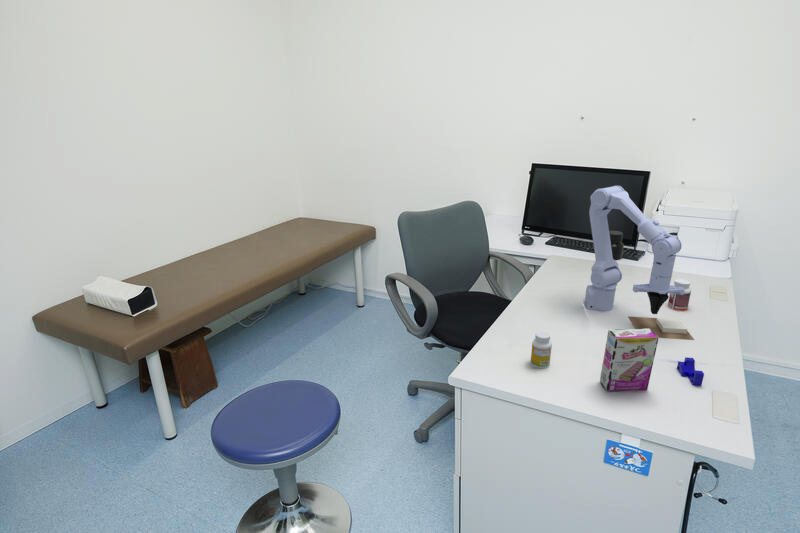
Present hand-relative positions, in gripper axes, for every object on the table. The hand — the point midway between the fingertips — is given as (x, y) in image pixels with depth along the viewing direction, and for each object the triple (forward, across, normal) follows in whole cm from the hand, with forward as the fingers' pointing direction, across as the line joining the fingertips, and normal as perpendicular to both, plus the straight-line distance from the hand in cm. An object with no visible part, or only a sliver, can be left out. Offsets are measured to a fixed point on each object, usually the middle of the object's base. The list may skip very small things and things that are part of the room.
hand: (653, 312), depth 150 cm
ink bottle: (+7, +4, +72) cm, 72 cm away
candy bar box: (+6, -16, -34) cm, 38 cm away
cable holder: (+6, +2, -27) cm, 28 cm away
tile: (+4, +2, 0) cm, 5 cm away
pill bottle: (+6, +14, +17) cm, 23 cm away
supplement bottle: (+6, -37, -26) cm, 46 cm away
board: (+6, +3, 0) cm, 7 cm away
